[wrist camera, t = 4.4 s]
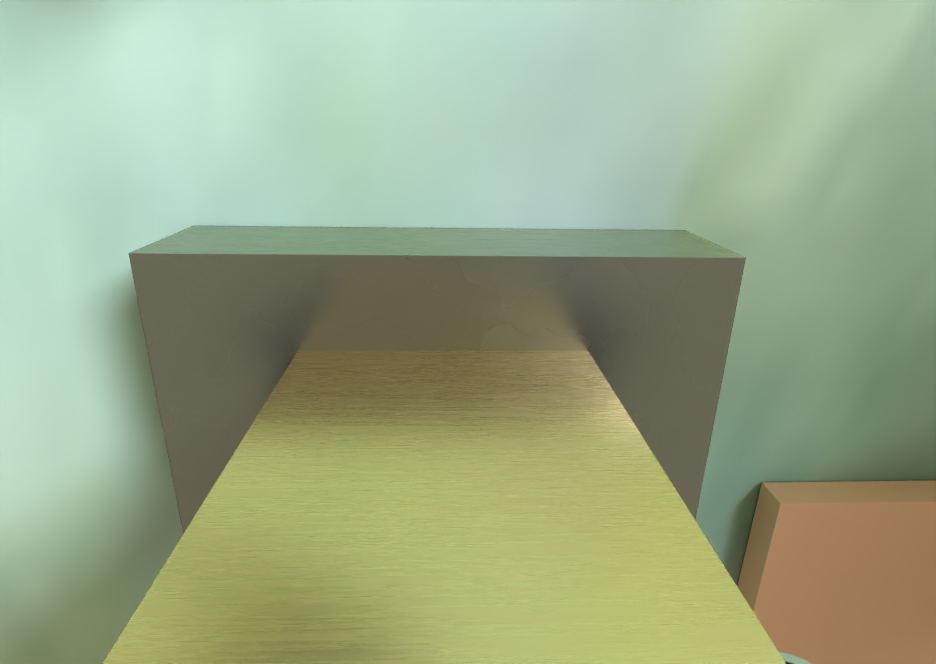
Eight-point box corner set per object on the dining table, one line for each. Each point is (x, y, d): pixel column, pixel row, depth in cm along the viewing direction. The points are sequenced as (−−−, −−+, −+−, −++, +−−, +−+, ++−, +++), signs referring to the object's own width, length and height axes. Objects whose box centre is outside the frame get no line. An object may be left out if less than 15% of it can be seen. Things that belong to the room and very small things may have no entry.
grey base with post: (684, 230, 14) (1165, 447, 5) (636, 551, 18) (857, 1041, 8) (193, 225, 14) (-362, 461, 4) (244, 558, 17) (3, 1091, 8)
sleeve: (587, 350, 12) (838, 746, 4) (565, 575, 14) (708, 1102, 6) (297, 350, 12) (33, 773, 4) (319, 580, 14) (170, 1137, 6)
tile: (1110, 478, 17) (1147, 498, 16) (988, 725, 21) (1013, 753, 20) (761, 482, 17) (780, 503, 16) (702, 735, 21) (714, 764, 20)
